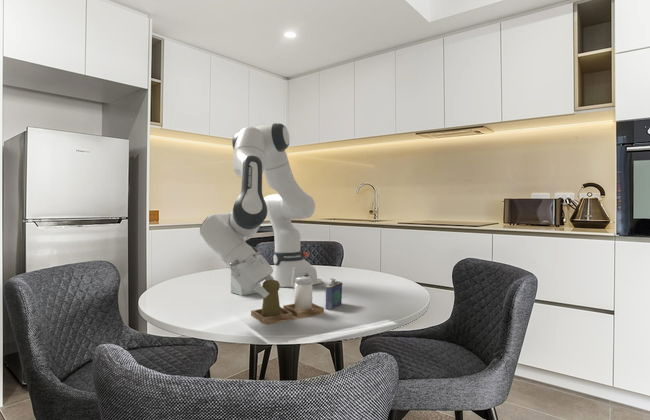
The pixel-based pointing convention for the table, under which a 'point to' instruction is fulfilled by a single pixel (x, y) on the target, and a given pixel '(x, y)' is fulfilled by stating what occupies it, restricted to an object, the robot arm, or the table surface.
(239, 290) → the supplement box
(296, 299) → the salt shaker
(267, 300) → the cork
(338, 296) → the flask
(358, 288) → the table surface
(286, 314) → the caddy
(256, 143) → the robot arm
